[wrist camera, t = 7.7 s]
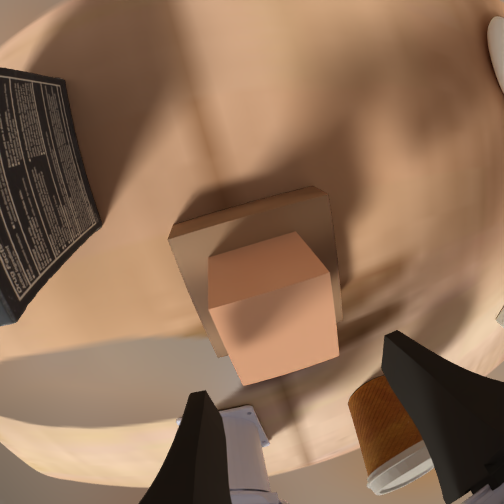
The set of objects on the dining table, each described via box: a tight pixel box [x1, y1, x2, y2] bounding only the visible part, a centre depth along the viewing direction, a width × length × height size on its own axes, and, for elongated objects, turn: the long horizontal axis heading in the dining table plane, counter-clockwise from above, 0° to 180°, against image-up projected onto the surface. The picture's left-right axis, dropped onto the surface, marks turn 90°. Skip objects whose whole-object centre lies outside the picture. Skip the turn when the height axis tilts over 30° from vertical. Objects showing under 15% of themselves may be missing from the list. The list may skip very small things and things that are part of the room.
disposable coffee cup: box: [348, 376, 434, 495], centre depth 22 cm, size 10×10×12 cm
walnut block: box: [168, 186, 343, 358], centre depth 18 cm, size 9×9×3 cm
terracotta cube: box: [208, 231, 339, 386], centre depth 14 cm, size 5×5×5 cm
